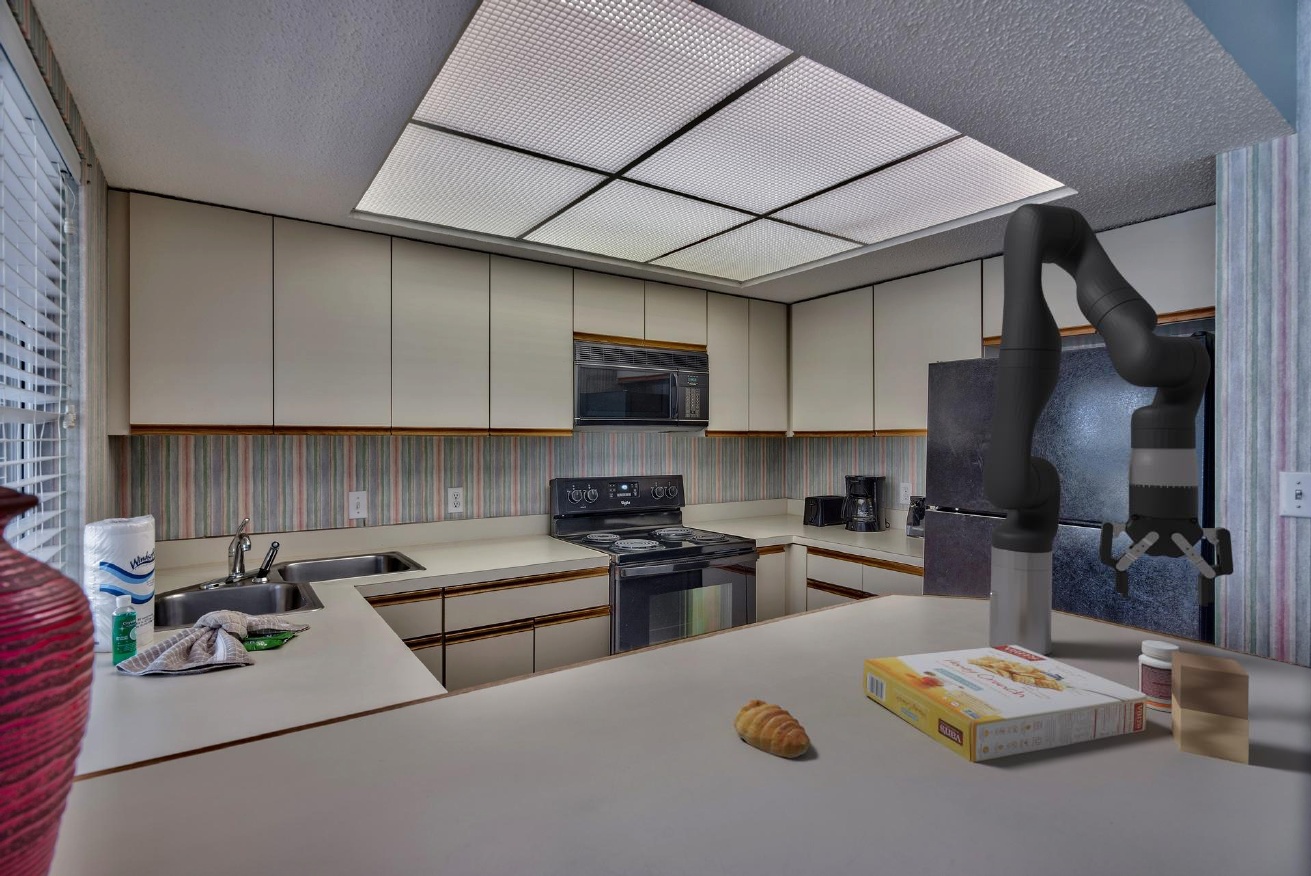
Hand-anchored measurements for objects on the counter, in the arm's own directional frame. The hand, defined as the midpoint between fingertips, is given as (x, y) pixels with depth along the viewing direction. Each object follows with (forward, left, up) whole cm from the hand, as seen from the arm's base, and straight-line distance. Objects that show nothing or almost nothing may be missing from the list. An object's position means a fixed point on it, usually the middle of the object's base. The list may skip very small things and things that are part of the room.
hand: (1162, 601), depth 89 cm
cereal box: (-19, -14, -15) cm, 28 cm away
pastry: (-42, -37, -15) cm, 58 cm away
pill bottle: (0, 0, -15) cm, 15 cm away
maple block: (+3, -12, -14) cm, 19 cm away
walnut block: (+3, -12, -9) cm, 15 cm away
